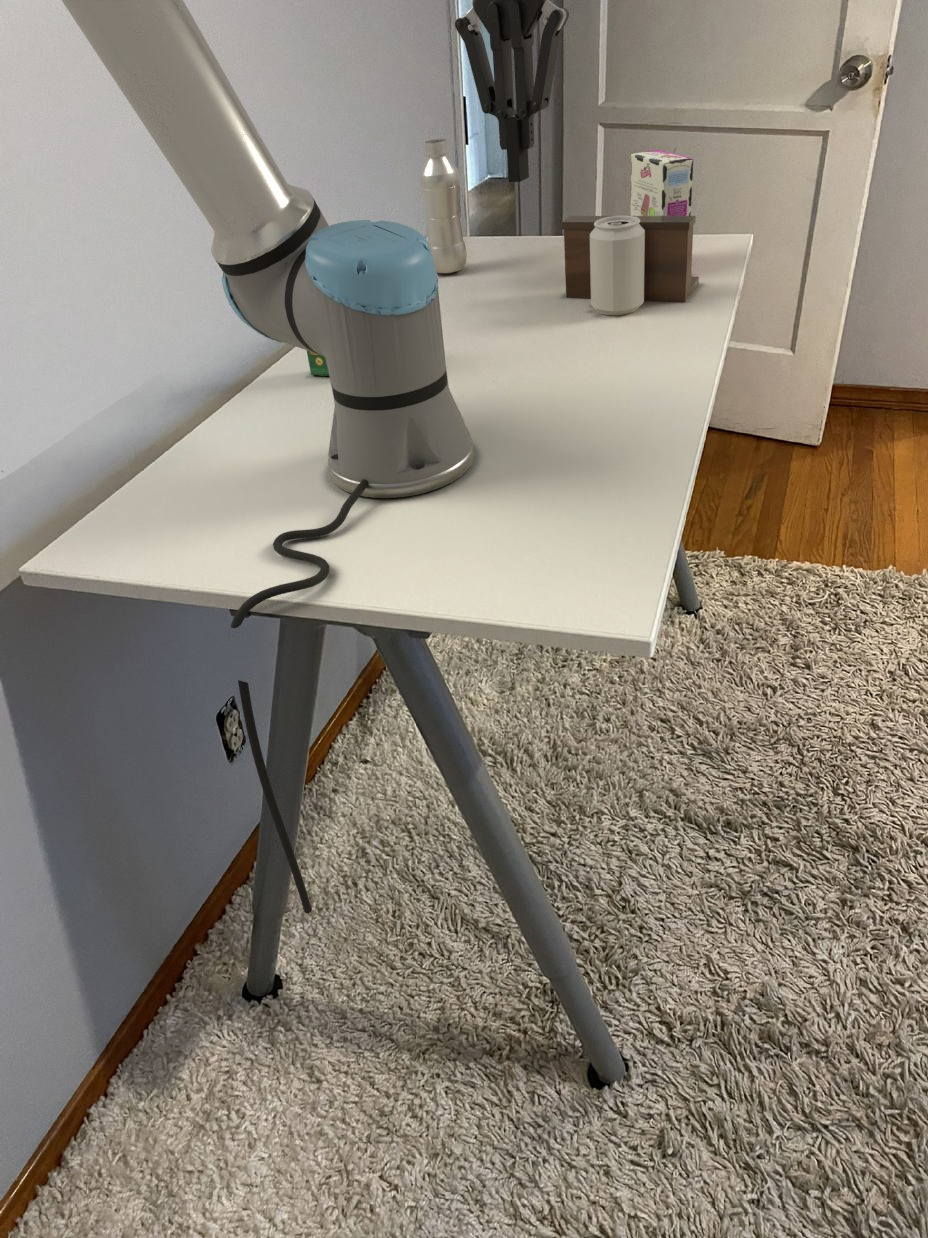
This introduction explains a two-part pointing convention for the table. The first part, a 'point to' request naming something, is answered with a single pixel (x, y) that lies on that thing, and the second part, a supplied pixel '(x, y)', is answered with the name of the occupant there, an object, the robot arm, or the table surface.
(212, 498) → the table surface
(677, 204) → the candy bar box
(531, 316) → the table surface
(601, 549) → the table surface
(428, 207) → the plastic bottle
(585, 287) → the wooden box
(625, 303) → the can
